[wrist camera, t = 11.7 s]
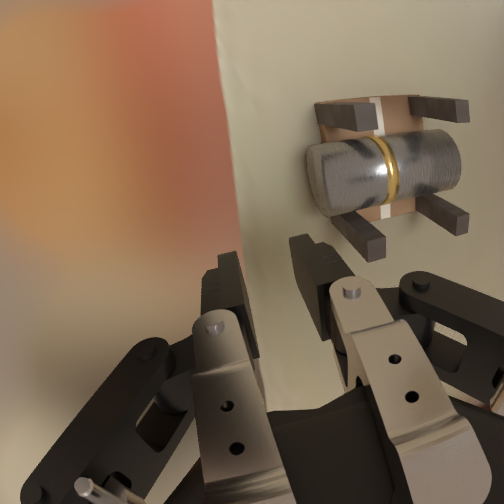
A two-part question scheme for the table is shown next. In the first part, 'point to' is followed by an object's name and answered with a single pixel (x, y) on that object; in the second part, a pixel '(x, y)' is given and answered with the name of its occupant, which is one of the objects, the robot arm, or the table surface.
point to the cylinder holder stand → (380, 123)
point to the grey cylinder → (381, 169)
